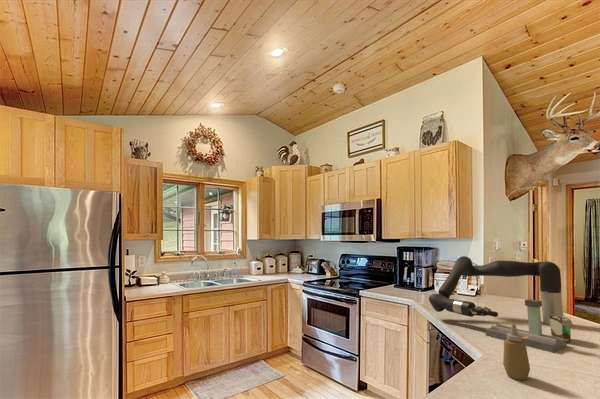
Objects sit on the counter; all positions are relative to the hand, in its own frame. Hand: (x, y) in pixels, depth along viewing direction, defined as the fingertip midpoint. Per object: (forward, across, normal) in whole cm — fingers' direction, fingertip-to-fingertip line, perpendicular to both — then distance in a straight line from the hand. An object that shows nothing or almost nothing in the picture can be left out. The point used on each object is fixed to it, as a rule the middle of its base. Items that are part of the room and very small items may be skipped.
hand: (497, 314), depth 166 cm
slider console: (+12, 0, +10) cm, 15 cm away
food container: (+22, +16, +10) cm, 29 cm away
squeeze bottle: (+29, -44, +10) cm, 53 cm away
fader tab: (+16, 0, +6) cm, 18 cm away
